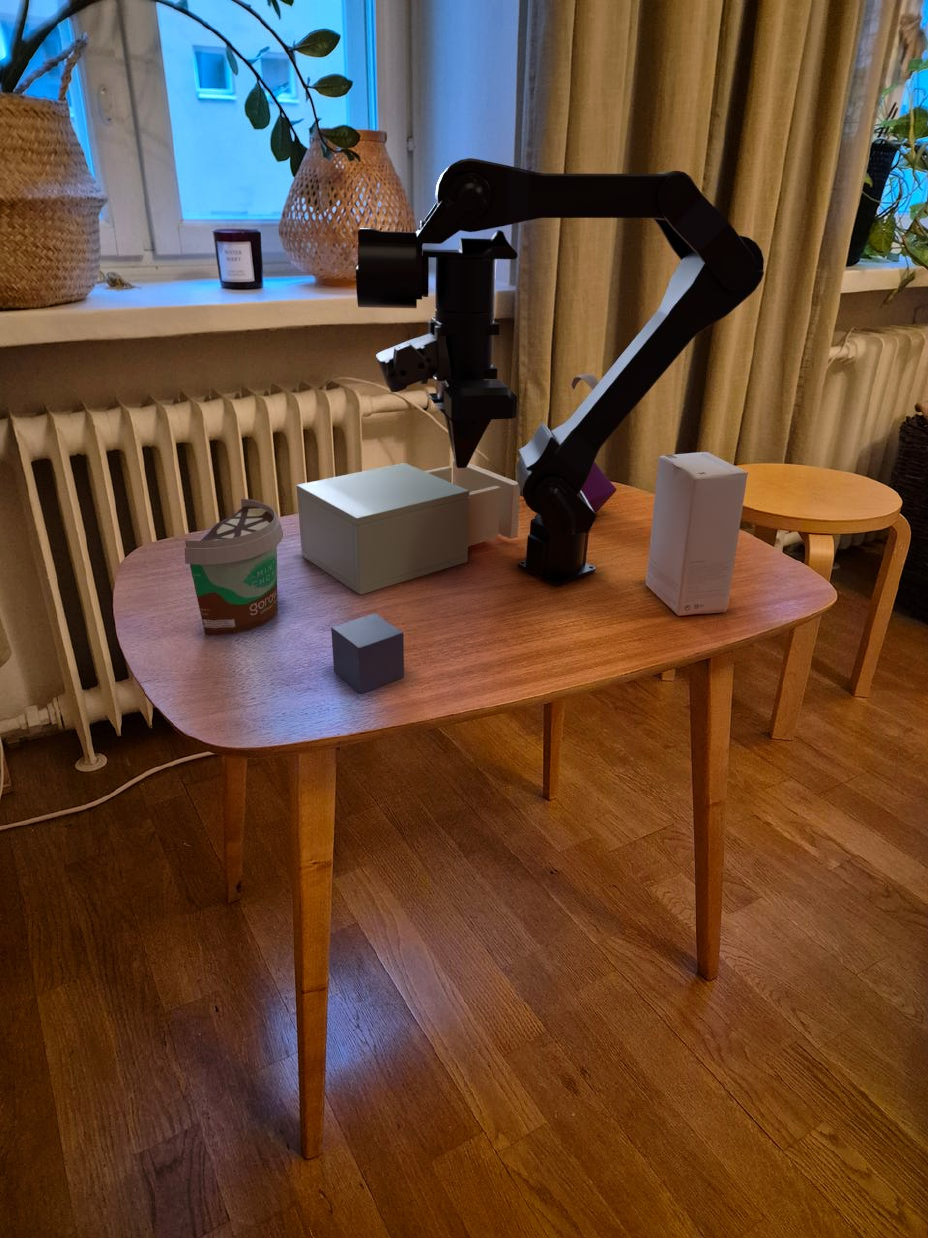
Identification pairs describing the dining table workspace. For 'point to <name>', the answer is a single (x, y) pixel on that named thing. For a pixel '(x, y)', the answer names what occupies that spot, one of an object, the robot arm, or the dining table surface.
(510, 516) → the tray
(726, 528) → the cosmetic box
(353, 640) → the block
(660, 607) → the dining table surface
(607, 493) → the perfume bottle
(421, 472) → the grey storage box
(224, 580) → the food container
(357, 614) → the dining table surface
